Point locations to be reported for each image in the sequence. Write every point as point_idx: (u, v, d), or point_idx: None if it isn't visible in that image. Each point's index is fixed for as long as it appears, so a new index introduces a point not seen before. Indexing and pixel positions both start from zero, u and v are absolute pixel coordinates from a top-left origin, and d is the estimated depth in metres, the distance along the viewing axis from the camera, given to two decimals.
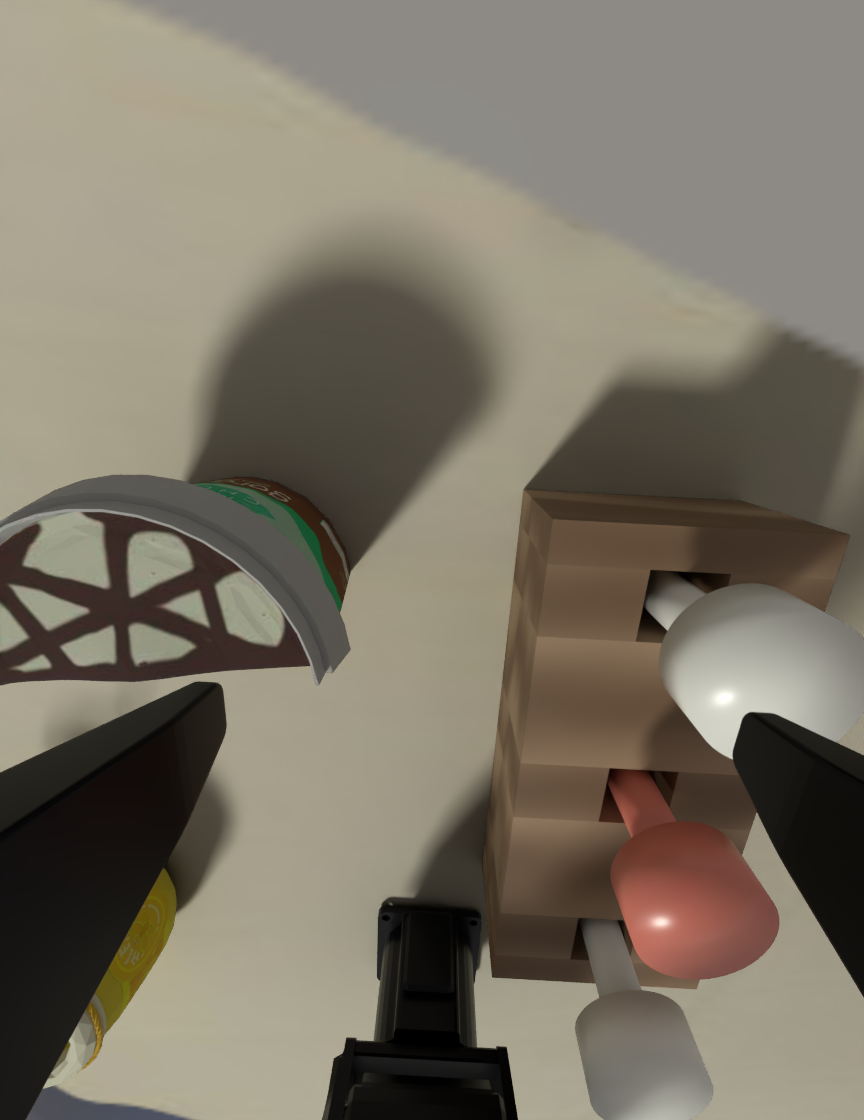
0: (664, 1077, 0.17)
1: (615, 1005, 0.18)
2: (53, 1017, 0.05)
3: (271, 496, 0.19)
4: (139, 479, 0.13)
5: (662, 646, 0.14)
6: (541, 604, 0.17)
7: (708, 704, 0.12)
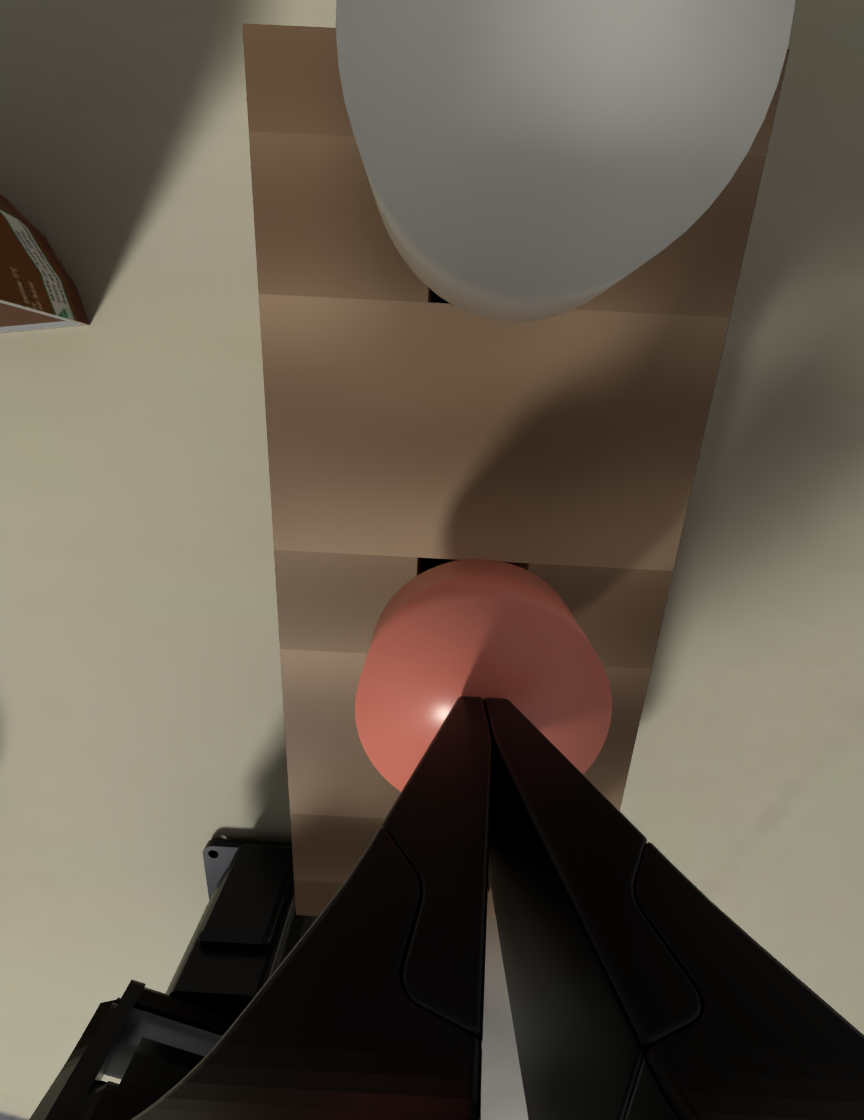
0: None
1: None
2: None
3: None
4: None
5: None
6: (256, 226, 0.10)
7: (379, 83, 0.05)
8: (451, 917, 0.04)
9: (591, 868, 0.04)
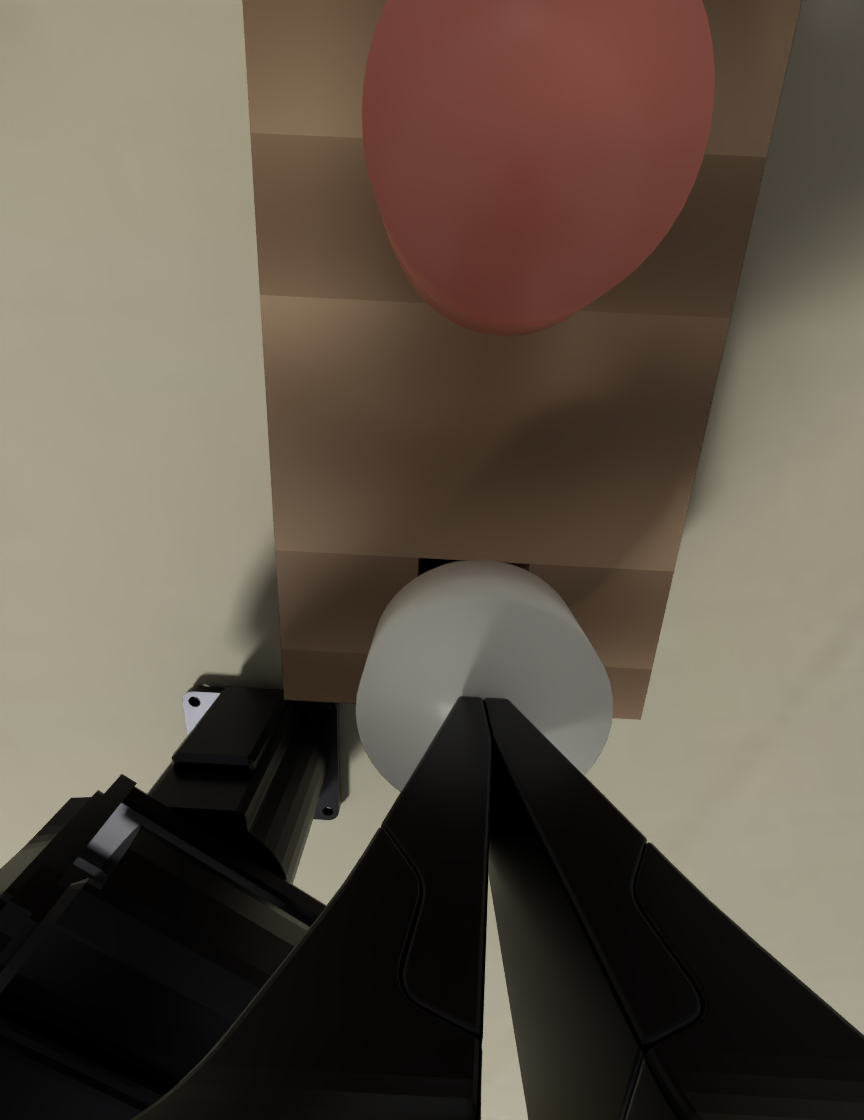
0: (505, 663, 0.08)
1: (429, 576, 0.09)
2: None
3: None
4: None
5: None
6: None
7: None
8: (451, 917, 0.04)
9: (591, 868, 0.04)
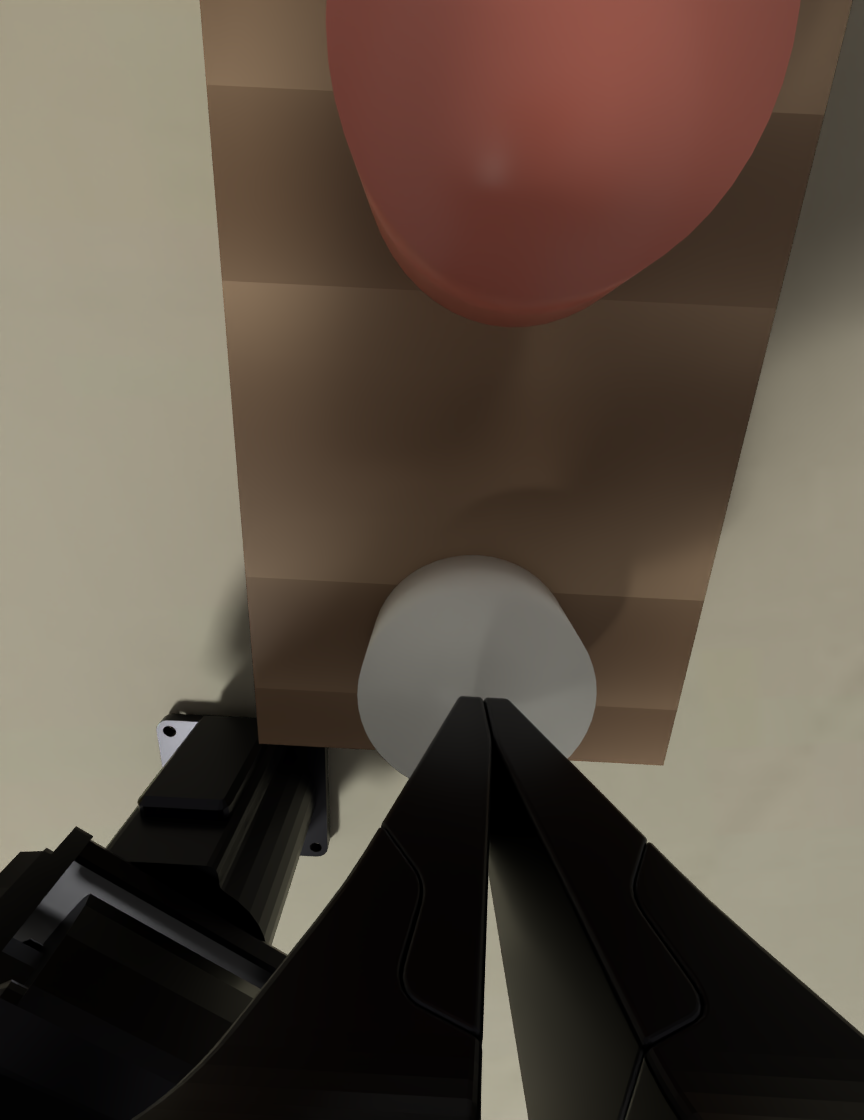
0: (496, 650, 0.08)
1: (426, 571, 0.10)
2: None
3: None
4: None
5: None
6: None
7: None
8: (451, 917, 0.04)
9: (591, 868, 0.04)
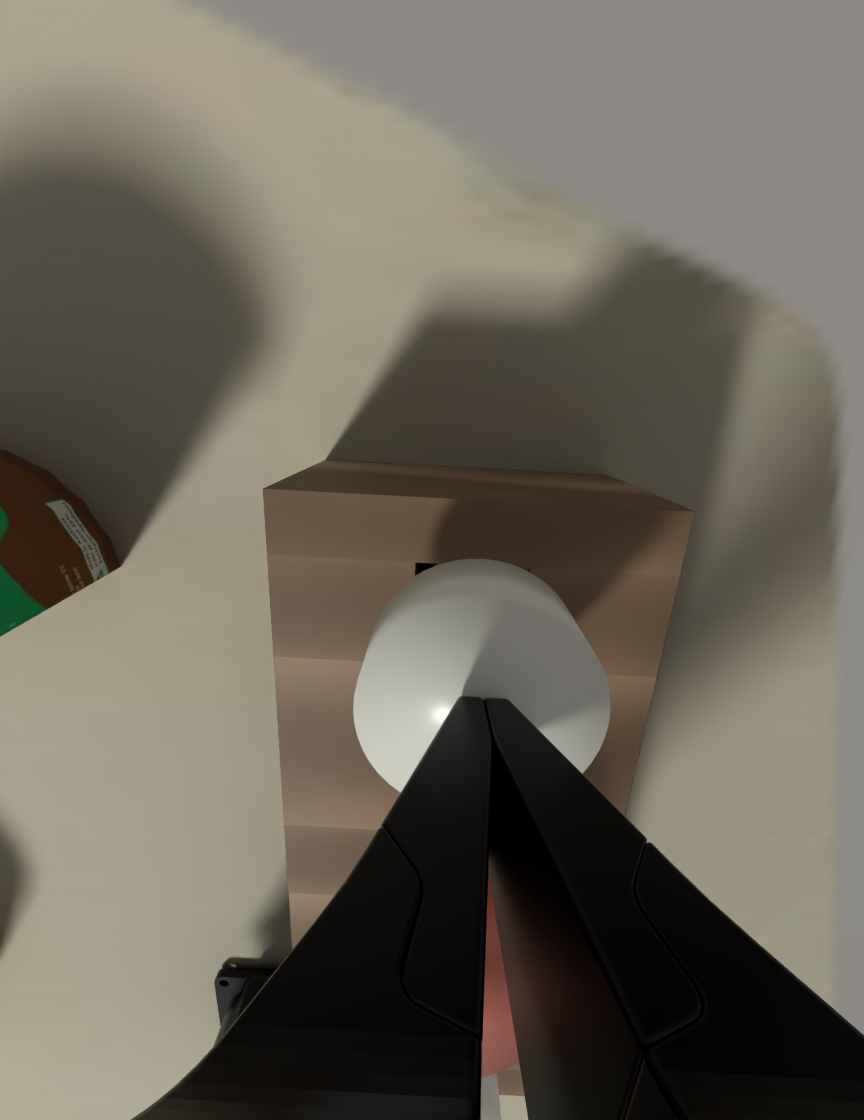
0: None
1: None
2: None
3: None
4: None
5: None
6: (272, 611, 0.12)
7: (377, 731, 0.08)
8: (451, 917, 0.04)
9: (591, 868, 0.04)
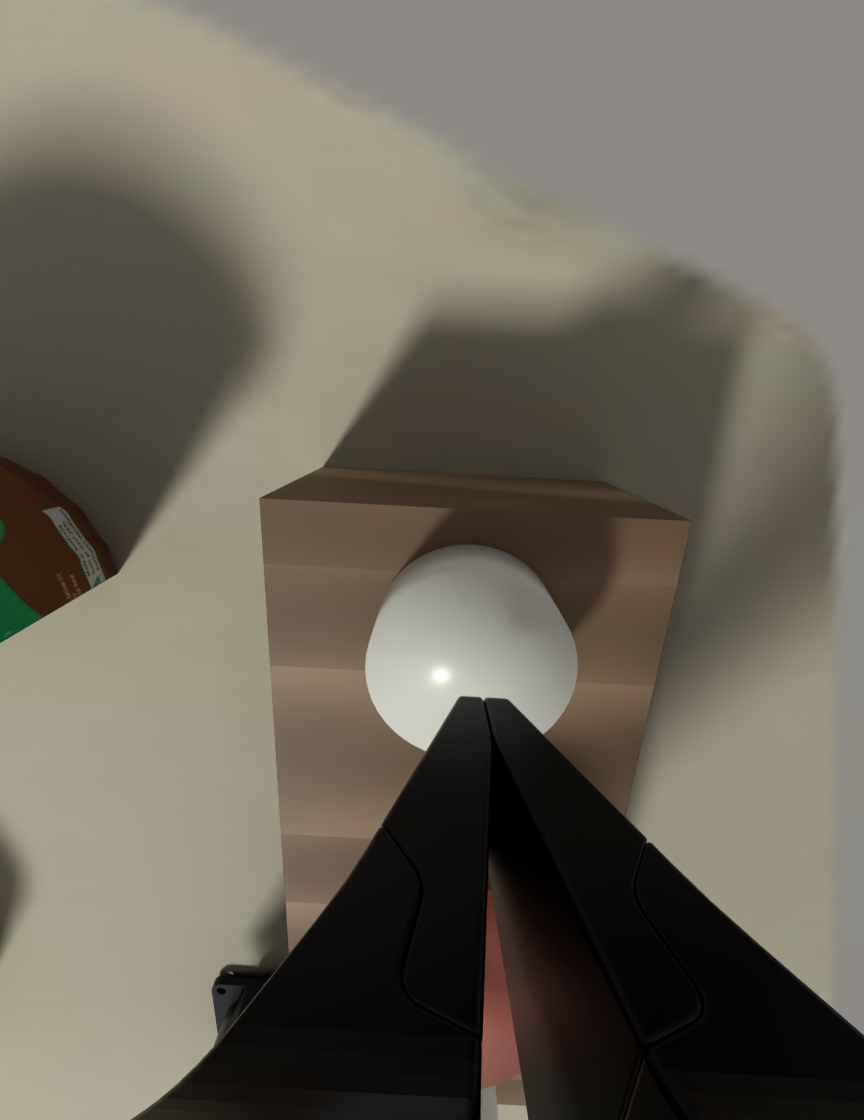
0: None
1: None
2: None
3: None
4: None
5: None
6: (268, 620, 0.12)
7: (385, 686, 0.10)
8: (451, 917, 0.04)
9: (591, 868, 0.04)
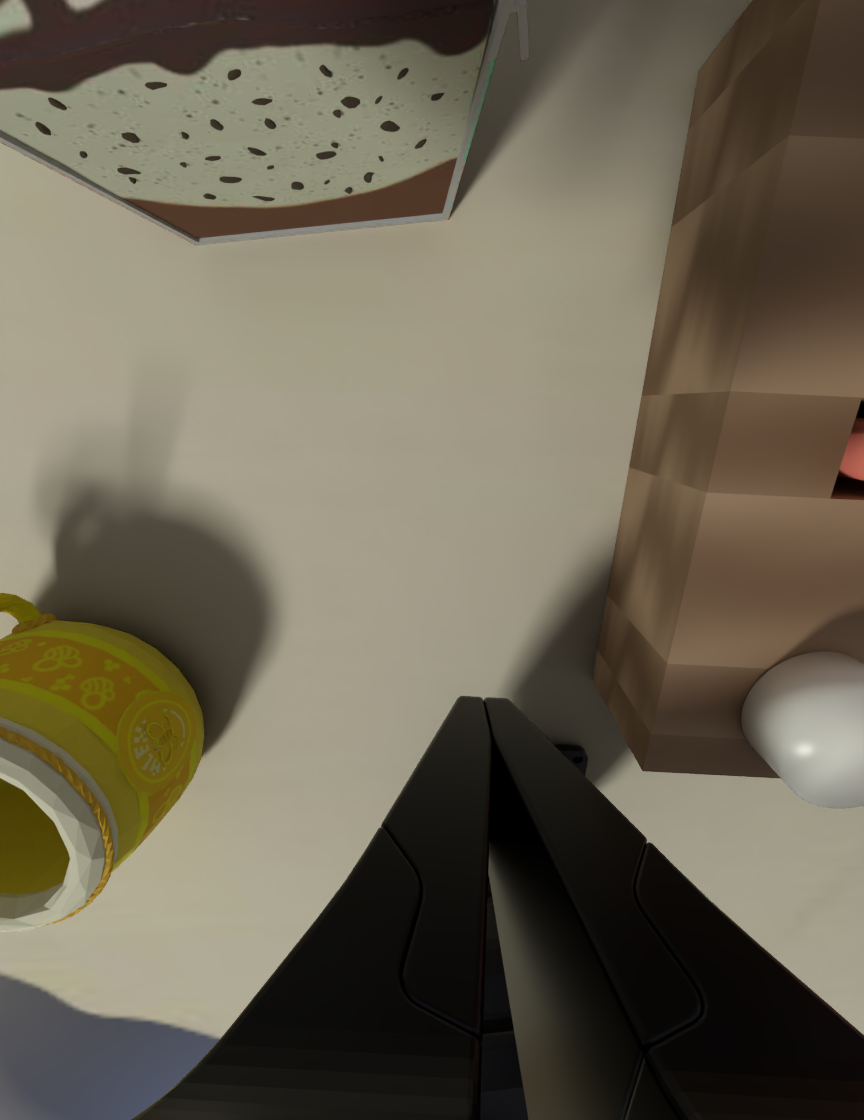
0: None
1: (802, 663, 0.15)
2: None
3: None
4: None
5: None
6: (803, 69, 0.11)
7: None
8: (451, 917, 0.04)
9: (591, 868, 0.04)
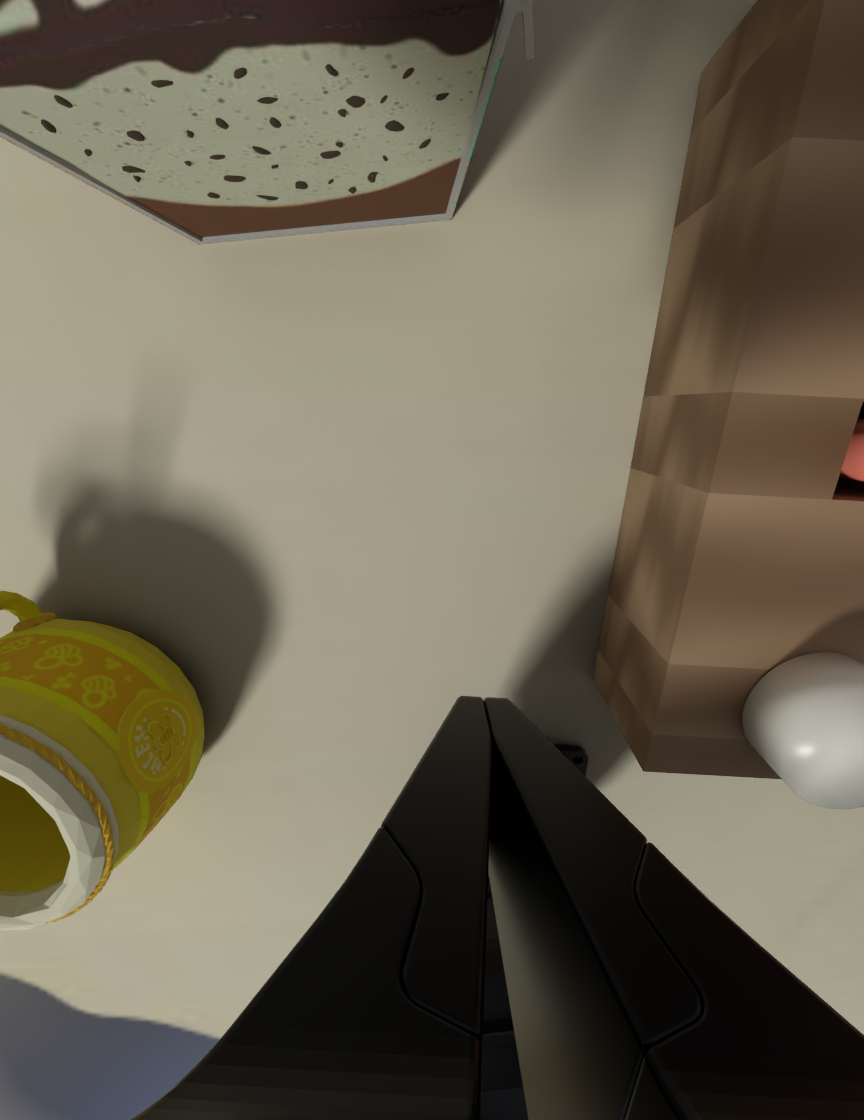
0: None
1: (803, 664, 0.15)
2: None
3: None
4: None
5: None
6: (806, 71, 0.11)
7: None
8: (451, 917, 0.04)
9: (591, 868, 0.04)
